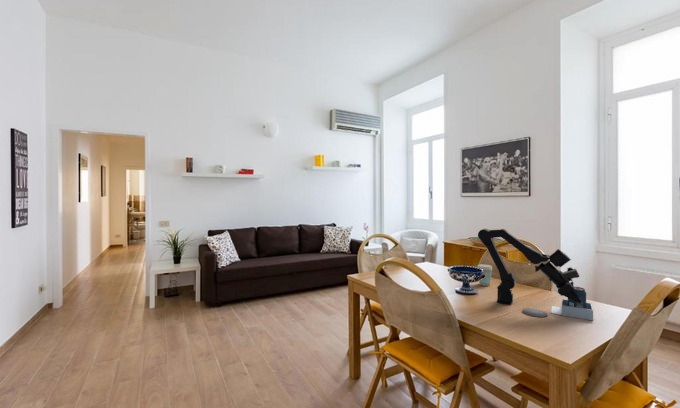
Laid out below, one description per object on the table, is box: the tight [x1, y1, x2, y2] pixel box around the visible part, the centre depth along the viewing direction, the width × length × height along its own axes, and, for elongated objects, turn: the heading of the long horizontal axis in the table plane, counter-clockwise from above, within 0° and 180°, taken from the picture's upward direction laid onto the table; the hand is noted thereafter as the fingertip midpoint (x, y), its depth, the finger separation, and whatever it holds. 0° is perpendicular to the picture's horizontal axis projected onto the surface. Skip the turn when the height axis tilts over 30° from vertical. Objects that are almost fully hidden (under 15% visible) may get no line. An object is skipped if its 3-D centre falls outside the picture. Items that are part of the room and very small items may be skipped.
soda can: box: [567, 286, 587, 309], centre depth 151 cm, size 7×7×12 cm
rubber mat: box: [522, 307, 548, 318], centre depth 152 cm, size 10×10×1 cm
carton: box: [551, 298, 594, 321], centre depth 154 cm, size 15×15×4 cm
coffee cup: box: [477, 263, 493, 287], centre depth 201 cm, size 8×8×12 cm
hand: (580, 300), depth 151 cm, fingers closed on soda can, 7 cm apart
